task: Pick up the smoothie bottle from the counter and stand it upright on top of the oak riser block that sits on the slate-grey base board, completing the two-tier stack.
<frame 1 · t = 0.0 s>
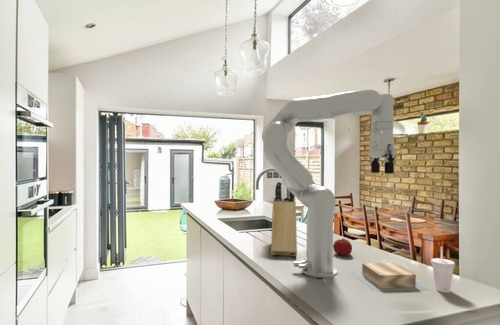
hand: (381, 173, 116), 37 cm above the counter, tool pointing down, fingers open, 9 cm apart
knife block: (283, 247, 147), on the counter
oak riser: (387, 280, 104), resting on base board
base board: (387, 282, 104), on the counter
tomato: (342, 255, 137), on the counter
smoothie: (442, 292, 96), on the counter
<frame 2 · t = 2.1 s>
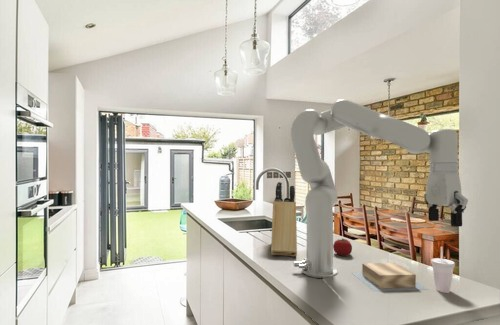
hand: (444, 223, 96), 22 cm above the counter, tool pointing down, fingers open, 9 cm apart
nothing on the counter moved.
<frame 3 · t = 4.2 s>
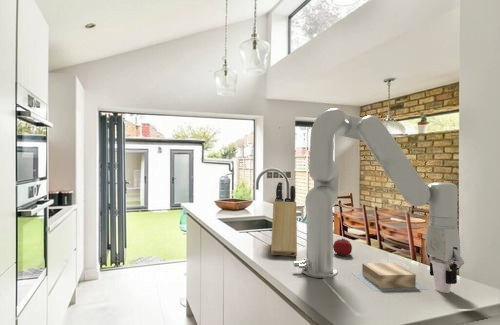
hand: (442, 278, 96), 4 cm above the counter, tool pointing down, fingers closed on smoothie, 6 cm apart
smoothie: (442, 292, 96), on the counter, touching gripper
everything else where it was.
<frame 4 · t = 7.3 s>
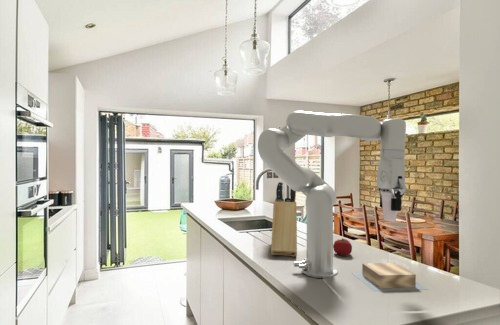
hand: (390, 208, 104), 25 cm above the counter, tool pointing down, fingers closed on smoothie, 6 cm apart
smoothie: (389, 221, 104), point 21 cm above the counter, touching gripper
everything else where it was.
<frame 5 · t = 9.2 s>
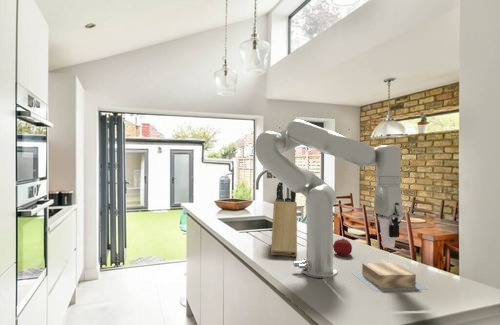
hand: (388, 234, 104), 16 cm above the counter, tool pointing down, fingers closed on smoothie, 6 cm apart
smoothie: (388, 246, 104), point 12 cm above the counter, touching gripper
everything else where it was.
when the fingers open (10 cm above the counter, at t = 10.8 s): smoothie drops 2 cm, resting on oak riser.
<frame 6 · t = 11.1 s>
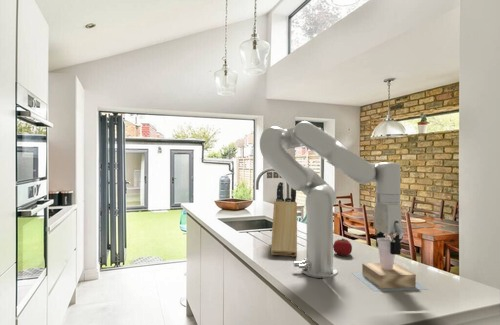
hand: (387, 250, 104), 11 cm above the counter, tool pointing down, fingers open, 8 cm apart
smoothie: (386, 269, 104), point 4 cm above the counter, touching oak riser
everything else where it was.
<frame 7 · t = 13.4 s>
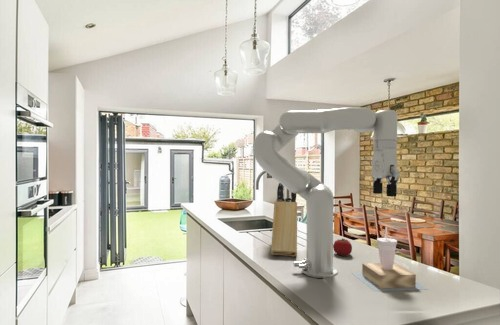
hand: (384, 194, 108), 29 cm above the counter, tool pointing down, fingers open, 9 cm apart
nothing on the counter moved.
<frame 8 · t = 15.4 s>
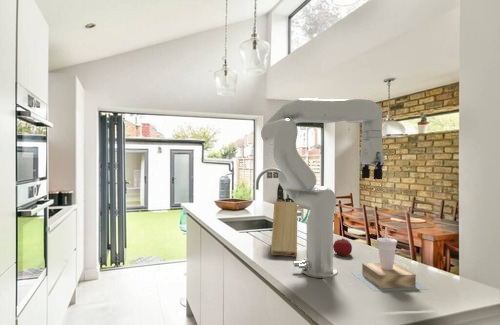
hand: (371, 178, 124), 34 cm above the counter, tool pointing down, fingers open, 9 cm apart
nothing on the counter moved.
at the end: smoothie inside the target area on the oak riser (0.3 cm from its centre), point 3.8 cm above the oak riser's base; smoothie tilted 0°; the gripper is holding nothing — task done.
